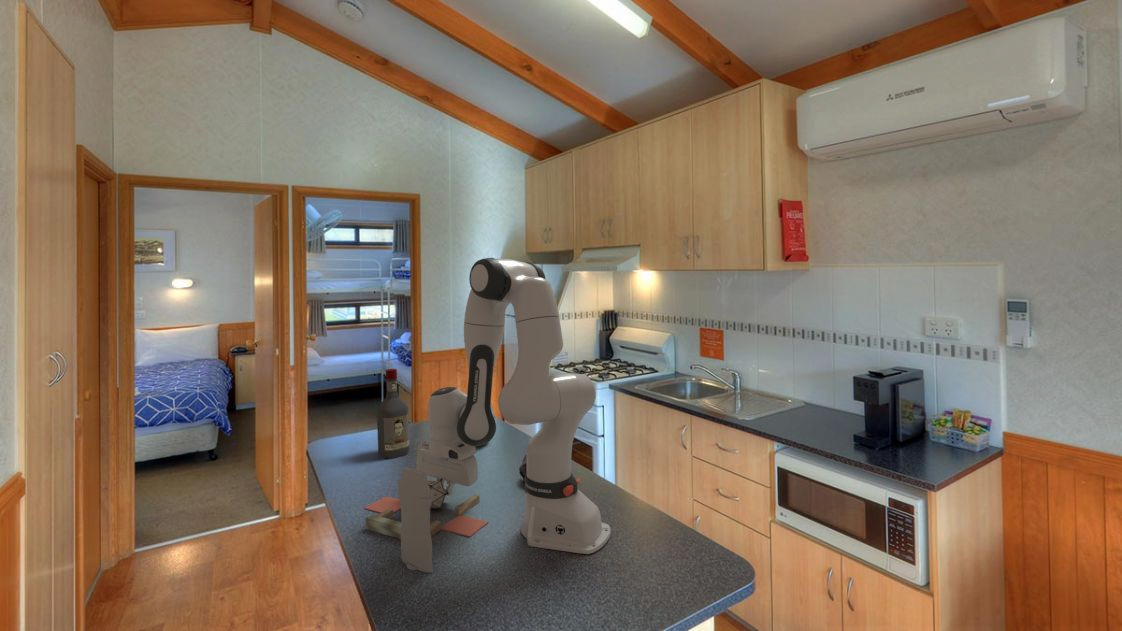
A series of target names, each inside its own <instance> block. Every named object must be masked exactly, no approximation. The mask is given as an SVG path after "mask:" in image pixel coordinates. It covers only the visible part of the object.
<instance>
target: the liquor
mask: <svg viewBox="0 0 1122 631" xmlns="http://www.w3.org/2000/svg"><path fill="white" fill-rule="evenodd" d="M385 379H386V395H385V398H384V399H383V400H382V401H381V403H380V404H378V406H377V408H376V424H377V425H376V426H377V427H376V428H377V429H376V430H377V452H378V454H379V456H381V457H383V458H384V459H396V458H399V457H403V456H406V455H407V454H408V453H409V452H410V424H409V423H410V422H409V419H410V418H409V406H408V404H406V402H404V401H403V399H402V398H401V397H399V394H398V382H397V381H398V380H397V379H398V369H397V368H388V369H386V370H385Z"/></svg>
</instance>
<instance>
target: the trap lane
mask: <svg viewBox="0 0 1122 631" xmlns="http://www.w3.org/2000/svg"><path fill="white" fill-rule="evenodd" d="M479 503H481V502H480V495H479V494H474V495H472V496H470V497H469V498H467V499H466V500H464V501H462V502H461V503H459V505H457V506H455V507H454V514H455V516H459V515H463V514H465V513H466V512H467V511H469V510H470V509H472V508H473V507H475V506H476V505H479ZM394 517H395V516H394V513H393V509H390V508H389V509H387V510H385V511H383V512H382V513H378V514H371V513H370V514H369V515H368V516H365V530H369V531H372V532H375V533H378V534H381V535H382V534H383V535H385V536H388V537H389V536H390V537H393V538H396V539H399V540H401V524H402V522H401V521H398V520H395V519H392V518H394ZM440 528H441V521H440V520H434V521H432V522H430V534H431V537H432V536H433V535H434V533H435V534H436V533H437V532H439V531H440V530H441V529H440Z"/></svg>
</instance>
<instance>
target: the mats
mask: <svg viewBox="0 0 1122 631" xmlns="http://www.w3.org/2000/svg"><path fill="white" fill-rule="evenodd" d="M400 501H401V500H400V498H394V497H391V496H386V495H385V496H383V497H382V498H380V499H378V500H376V501H374V502H372V503H370V504H369V505H367V506H365V507H364V508H363V509H364V510H368V511H371V512H375V513H378V514H380V513H382V512H383V511H385V510H387V509H389V508H390V509H393V514H394V512H395V513H396V512H398V511H400V510H401V503H400ZM399 509H400V510H399ZM488 524H489V521H486V520H482V519H478V518H474V517H471V516H467V515H463V514H462V515H459V516H458V515H456V517H455V518H453V519H451V520H450V521H449V522H448V523H446V524H445V525H443V526H442V527H440V530H441V531H445V532H448V533H452V534H456V535H459V536H464V537H467V538H471V537H472V536H474V535H475V534H476V533H477V532H479V531H480V530H481V529H482V528H484V527H485V526H486V525H488Z"/></svg>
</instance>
